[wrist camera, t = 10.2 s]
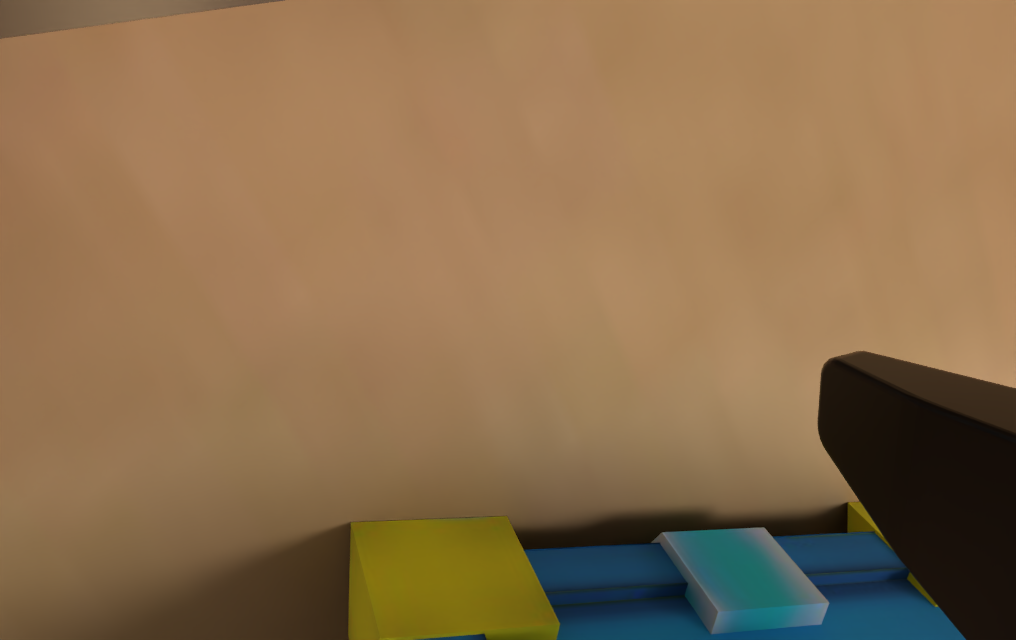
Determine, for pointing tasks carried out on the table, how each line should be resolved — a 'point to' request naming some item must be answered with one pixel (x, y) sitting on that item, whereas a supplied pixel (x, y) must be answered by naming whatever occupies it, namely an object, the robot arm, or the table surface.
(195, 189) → the table surface
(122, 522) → the table surface
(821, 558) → the blue toy crate
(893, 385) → the robot arm
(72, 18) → the wooden tray
